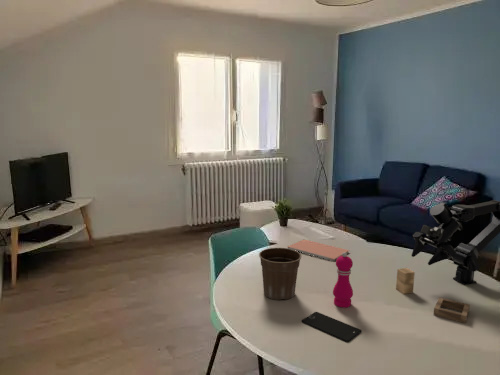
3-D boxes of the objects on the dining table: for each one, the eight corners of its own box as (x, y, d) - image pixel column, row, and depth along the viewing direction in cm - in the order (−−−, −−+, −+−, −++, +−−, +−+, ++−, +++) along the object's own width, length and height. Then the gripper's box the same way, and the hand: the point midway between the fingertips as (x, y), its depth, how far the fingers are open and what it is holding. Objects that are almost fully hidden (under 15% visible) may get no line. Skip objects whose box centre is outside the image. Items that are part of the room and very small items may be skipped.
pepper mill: (353, 300, 151) (355, 250, 147) (351, 309, 144) (354, 256, 140) (333, 297, 153) (335, 248, 149) (331, 306, 146) (333, 254, 143)
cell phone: (315, 313, 142) (315, 311, 142) (362, 332, 130) (362, 329, 130) (300, 322, 136) (300, 320, 136) (347, 343, 124) (347, 341, 123)
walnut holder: (438, 303, 148) (439, 297, 148) (469, 311, 143) (469, 304, 142) (433, 314, 140) (434, 308, 140) (465, 323, 135) (466, 316, 134)
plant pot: (305, 289, 161) (306, 250, 158) (292, 306, 146) (293, 265, 143) (268, 282, 168) (268, 245, 165) (252, 298, 153) (252, 258, 150)
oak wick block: (405, 287, 162) (406, 267, 160) (413, 292, 158) (414, 272, 156) (396, 289, 160) (397, 269, 159) (403, 294, 156) (404, 273, 155)
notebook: (285, 250, 207) (285, 246, 206) (303, 242, 219) (303, 238, 219) (332, 263, 189) (332, 259, 189) (349, 253, 202) (349, 249, 202)
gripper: (418, 212, 166) (393, 240, 165) (453, 224, 148) (426, 256, 147) (432, 229, 170) (408, 256, 168) (467, 242, 152) (441, 273, 151)
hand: (420, 260), depth 159 cm, fingers open, 9 cm apart
